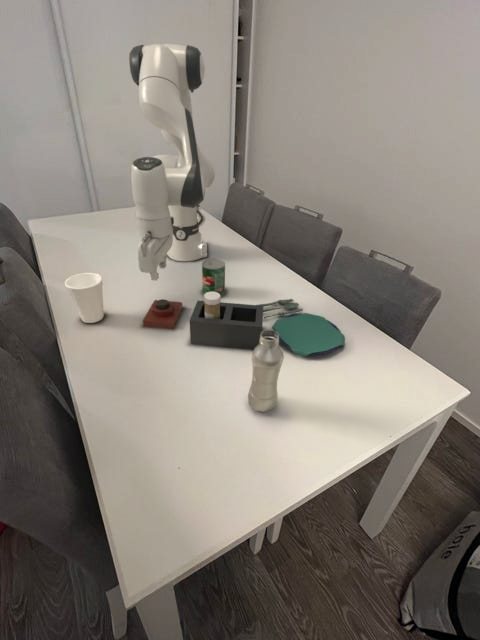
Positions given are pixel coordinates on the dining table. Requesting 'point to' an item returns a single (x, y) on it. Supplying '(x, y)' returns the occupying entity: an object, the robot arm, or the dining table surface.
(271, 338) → the plastic bottle
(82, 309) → the cup
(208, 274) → the canned tomato
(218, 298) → the sprinkles bottle
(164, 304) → the button
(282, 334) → the cutlery set
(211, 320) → the dark grey hollow block
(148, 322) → the button block
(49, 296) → the dining table surface
